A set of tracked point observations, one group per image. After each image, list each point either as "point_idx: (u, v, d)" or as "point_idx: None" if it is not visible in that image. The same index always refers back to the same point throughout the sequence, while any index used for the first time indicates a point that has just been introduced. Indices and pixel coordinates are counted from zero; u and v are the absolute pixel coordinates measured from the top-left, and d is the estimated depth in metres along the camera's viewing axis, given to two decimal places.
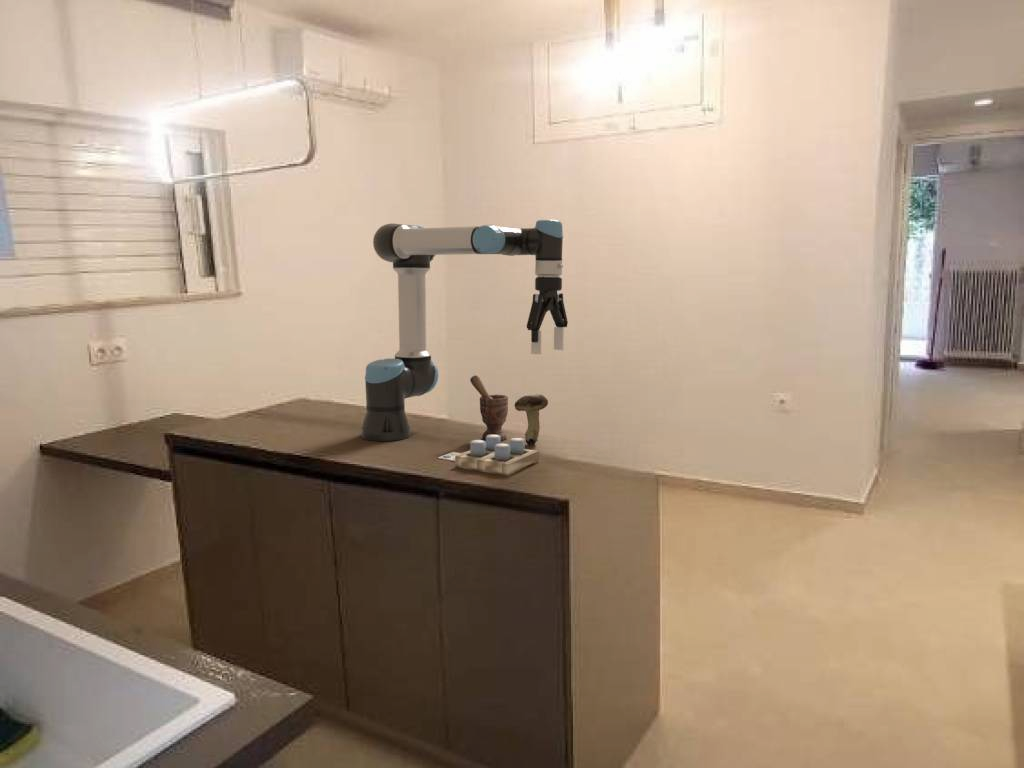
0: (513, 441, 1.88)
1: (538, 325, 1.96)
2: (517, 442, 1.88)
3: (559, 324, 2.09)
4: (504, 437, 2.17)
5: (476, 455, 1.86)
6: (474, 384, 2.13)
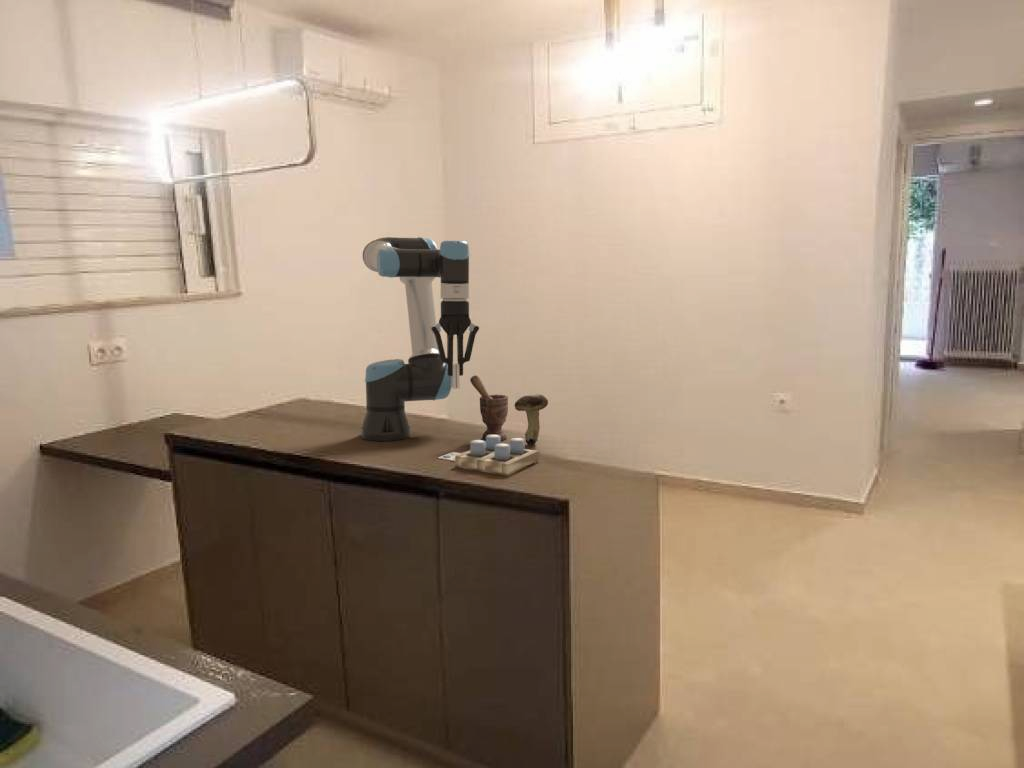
0: (513, 441, 1.88)
1: (448, 360, 1.91)
2: (517, 442, 1.88)
3: (459, 359, 1.93)
4: (504, 437, 2.17)
5: (476, 455, 1.86)
6: (474, 384, 2.13)
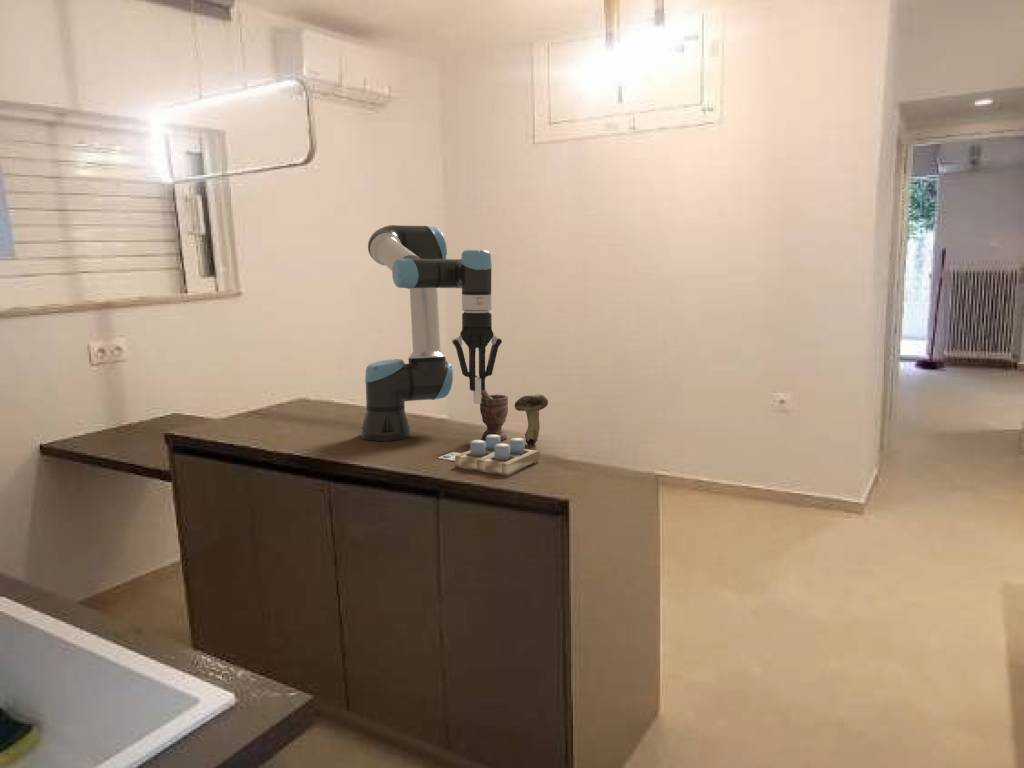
0: (513, 441, 1.88)
1: (470, 374, 1.83)
2: (517, 442, 1.88)
3: None
4: (504, 437, 2.17)
5: (476, 455, 1.86)
6: None
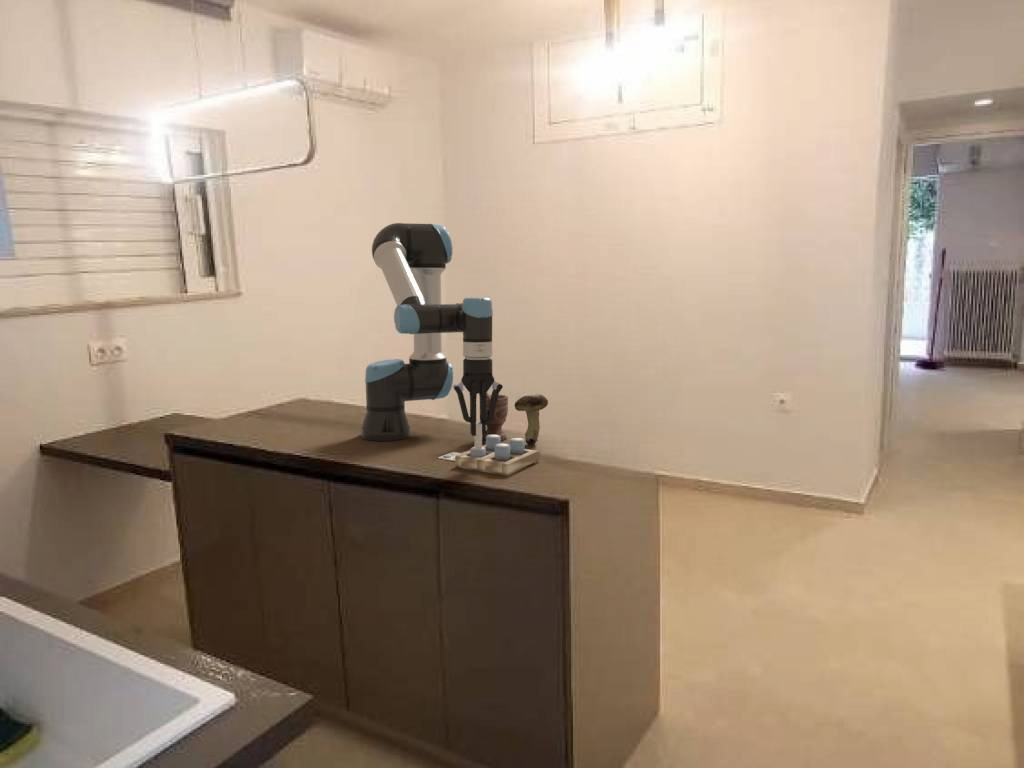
0: (513, 441, 1.88)
1: (471, 419, 1.85)
2: (517, 442, 1.88)
3: None
4: (504, 437, 2.17)
5: None
6: None
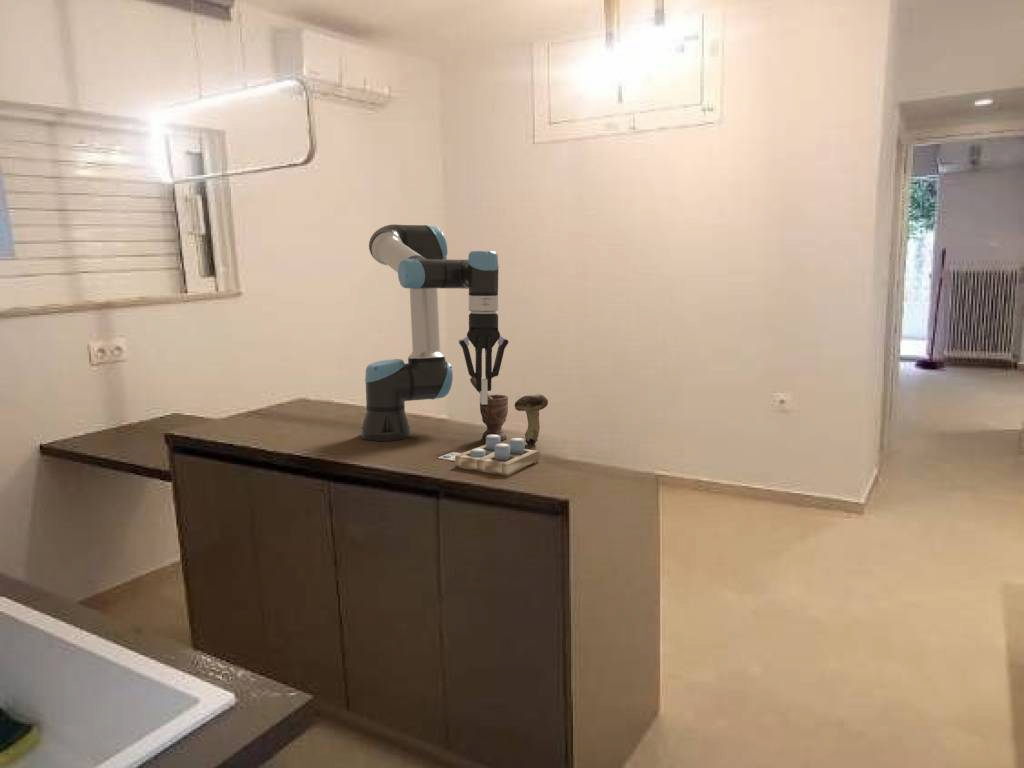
0: (513, 441, 1.88)
1: (477, 374, 1.83)
2: (517, 442, 1.88)
3: (487, 374, 1.85)
4: (504, 437, 2.17)
5: None
6: (474, 384, 2.13)
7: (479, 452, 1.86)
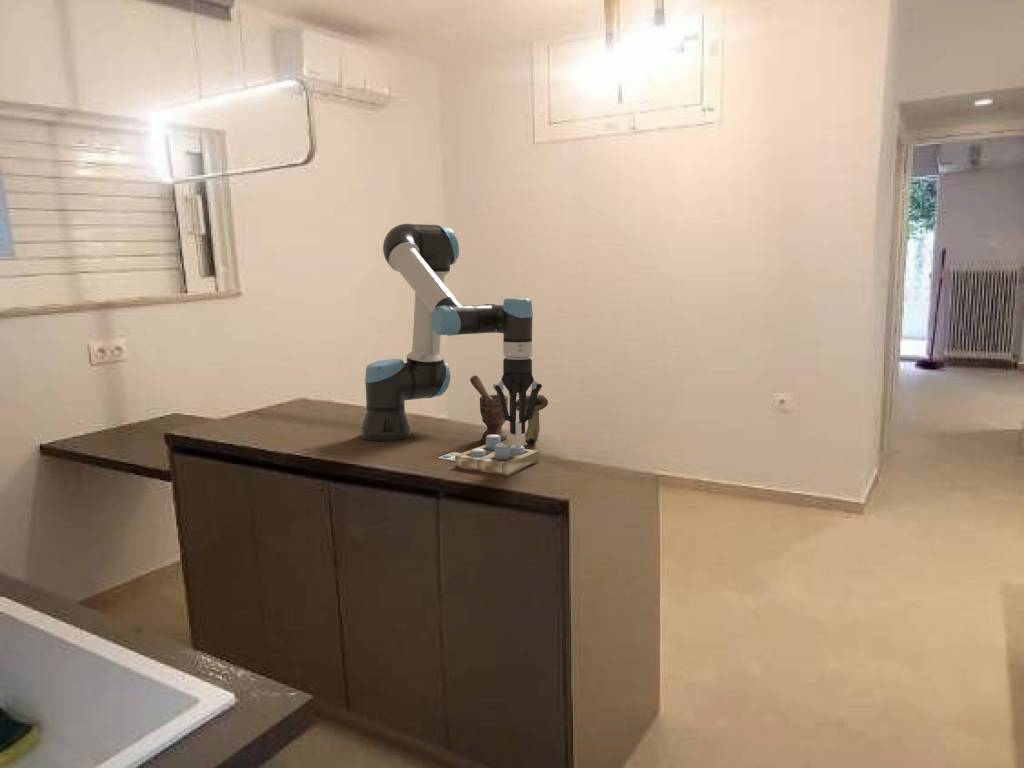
0: (513, 448, 1.89)
1: (511, 418, 1.87)
2: (517, 449, 1.88)
3: (521, 417, 1.89)
4: (504, 437, 2.17)
5: None
6: (474, 384, 2.13)
7: (479, 452, 1.86)
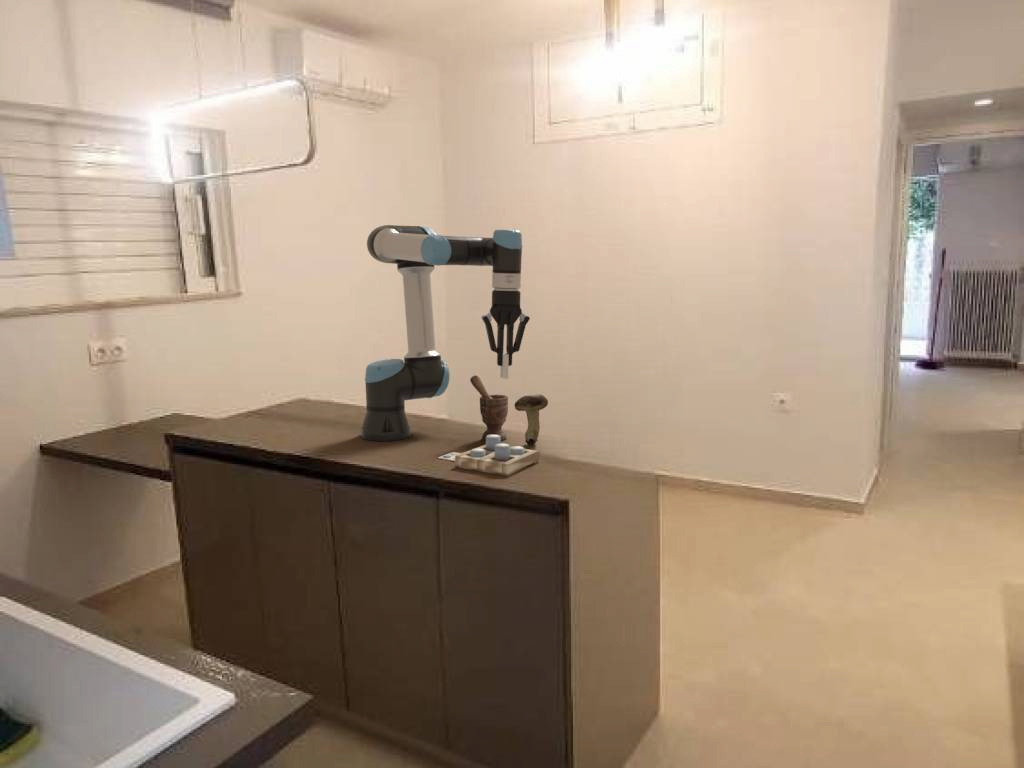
0: (513, 449, 1.89)
1: (499, 349, 1.90)
2: (517, 450, 1.88)
3: (508, 349, 1.92)
4: (504, 437, 2.17)
5: None
6: (474, 384, 2.13)
7: (479, 452, 1.86)
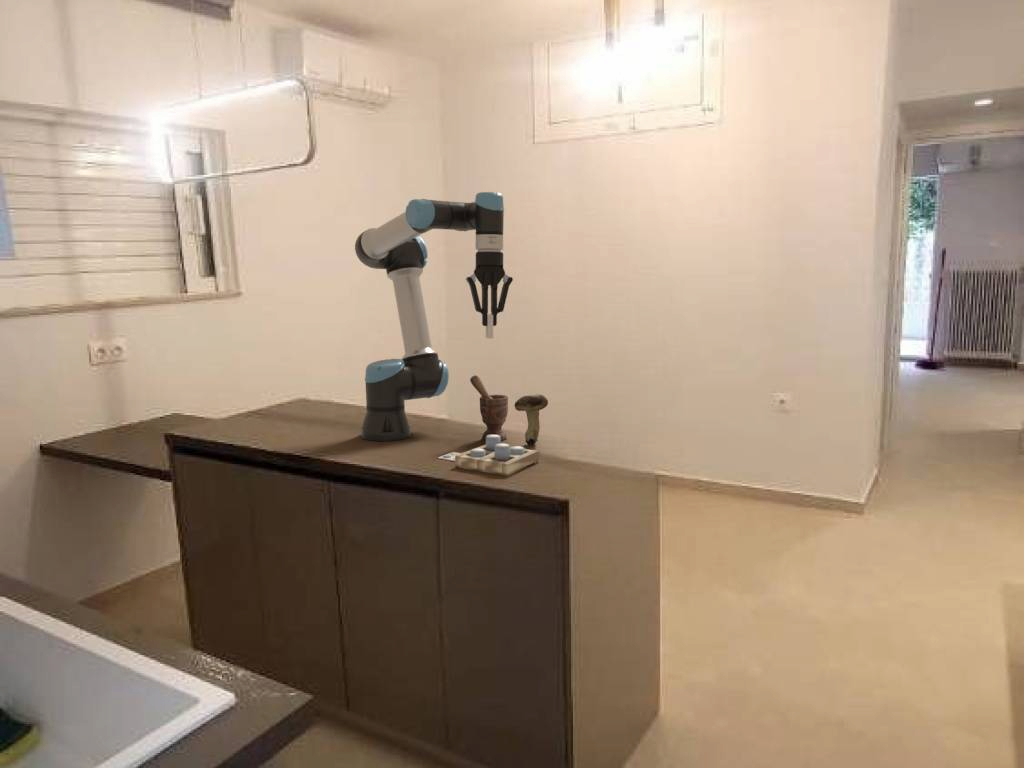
0: (513, 449, 1.89)
1: (483, 310, 1.95)
2: (517, 450, 1.88)
3: (492, 310, 1.97)
4: (504, 437, 2.17)
5: None
6: (474, 384, 2.13)
7: (479, 452, 1.86)
